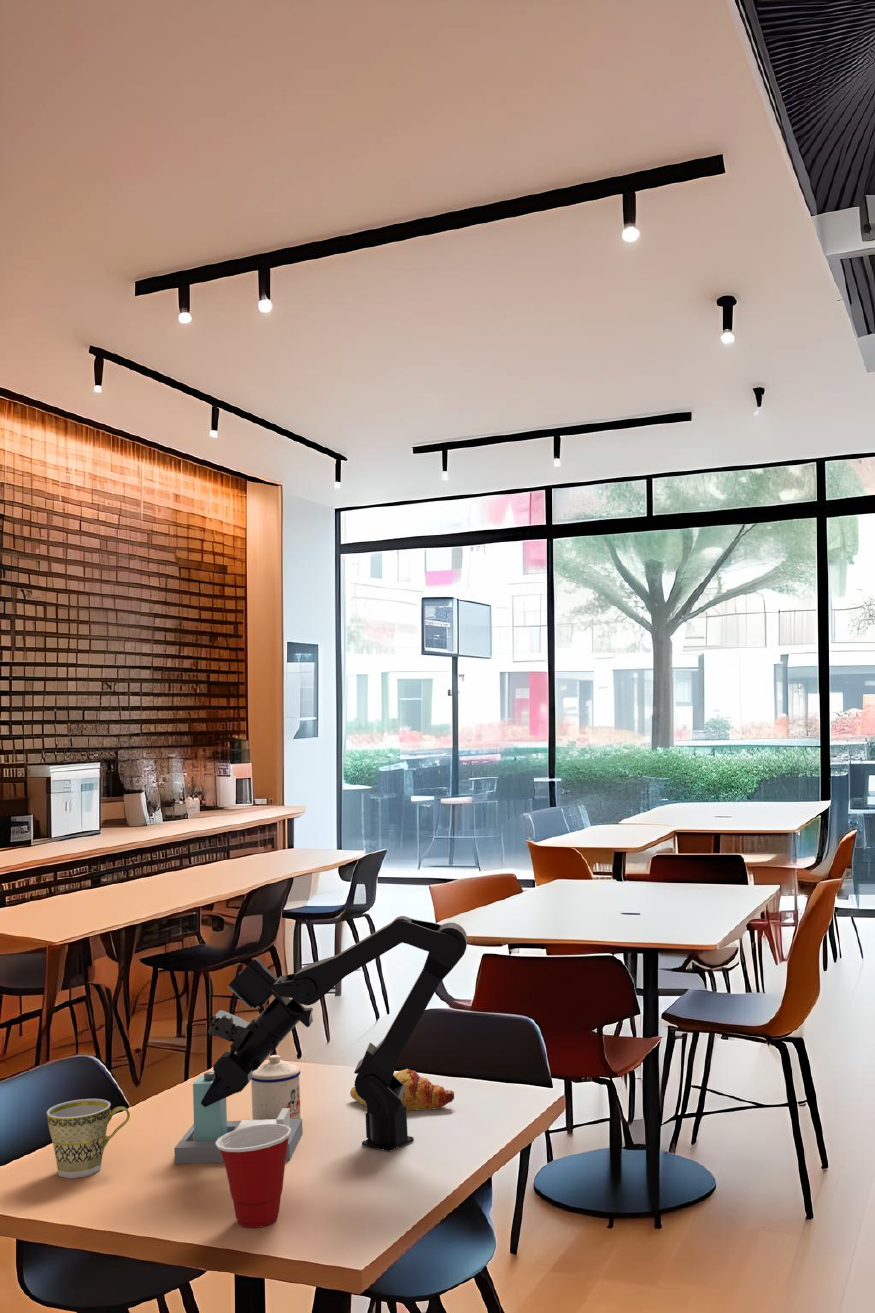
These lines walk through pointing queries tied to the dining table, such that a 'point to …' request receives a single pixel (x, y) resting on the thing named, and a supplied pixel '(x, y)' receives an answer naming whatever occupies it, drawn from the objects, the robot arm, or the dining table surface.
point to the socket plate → (209, 1151)
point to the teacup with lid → (275, 1089)
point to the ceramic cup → (81, 1135)
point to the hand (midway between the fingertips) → (209, 1096)
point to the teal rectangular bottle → (208, 1112)
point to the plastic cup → (255, 1171)
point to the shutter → (269, 1120)
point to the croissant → (417, 1092)
